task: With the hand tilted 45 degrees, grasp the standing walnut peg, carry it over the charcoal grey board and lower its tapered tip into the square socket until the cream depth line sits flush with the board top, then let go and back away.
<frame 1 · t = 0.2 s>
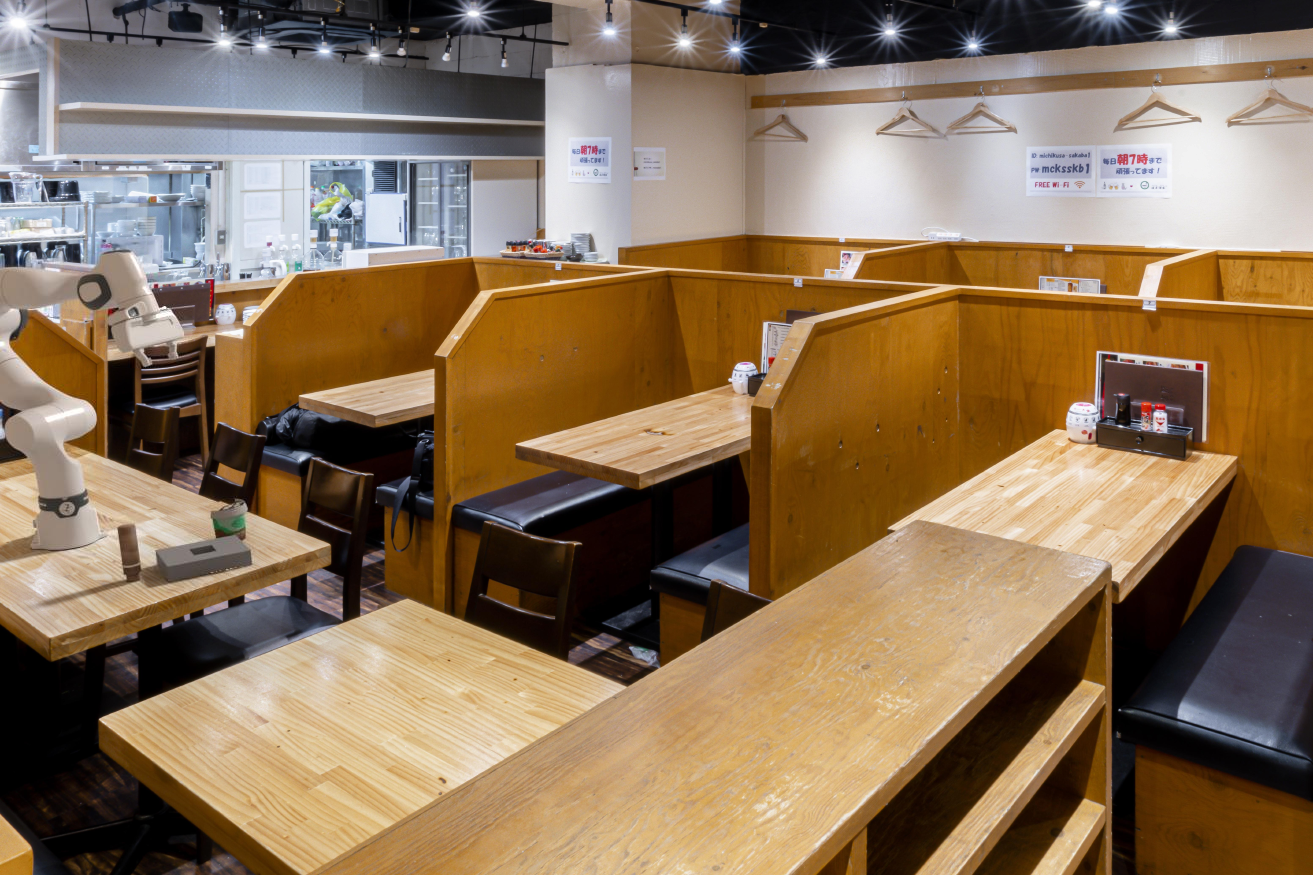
hand: (161, 362, 270), 52 cm above the table, tool tilted 20°, fingers open, 8 cm apart
peg: (133, 579, 264), on the table
food container: (237, 540, 293), on the table
board: (204, 564, 273), on the table
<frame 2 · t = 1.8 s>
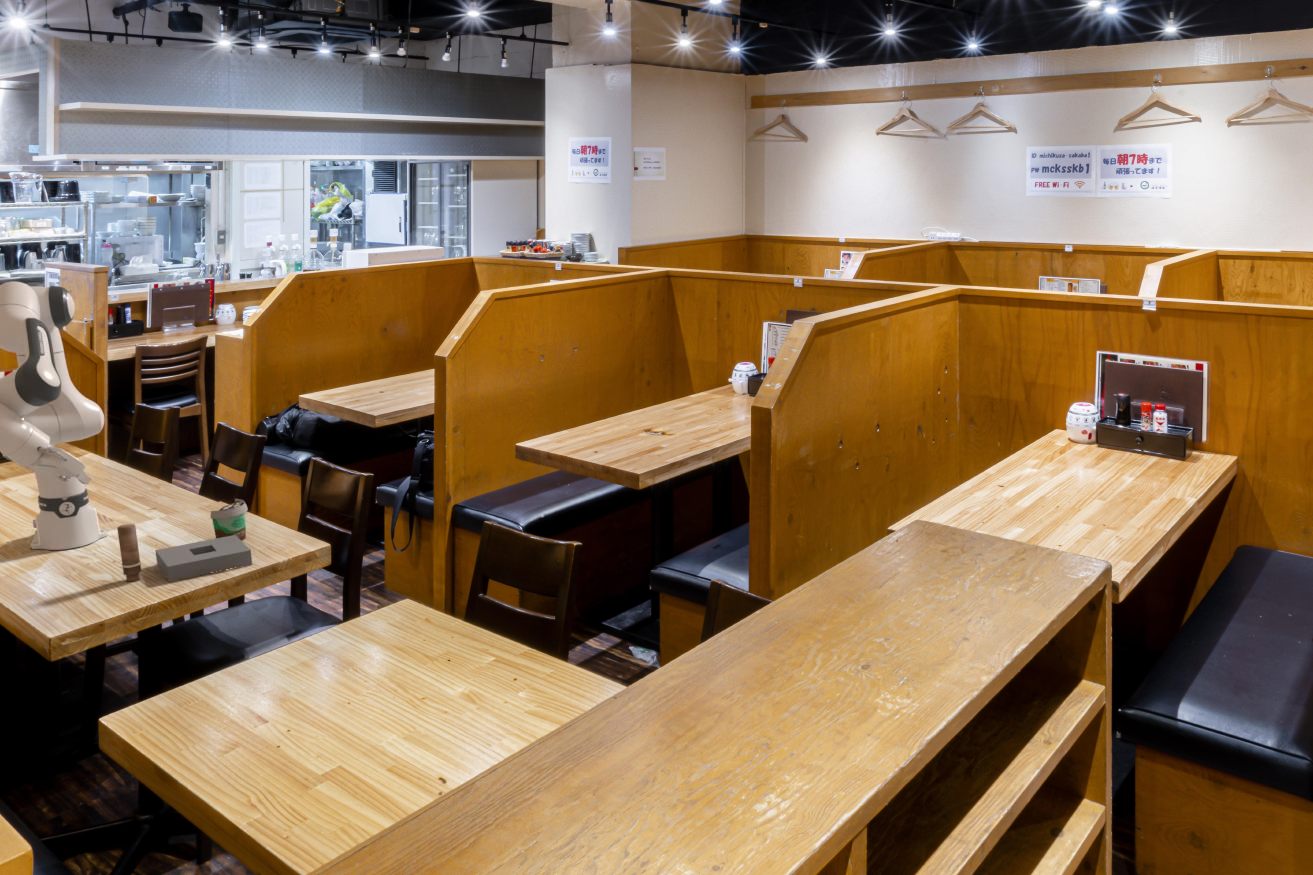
hand: (78, 480, 250), 28 cm above the table, tool tilted 45°, fingers open, 8 cm apart
nothing on the table moved.
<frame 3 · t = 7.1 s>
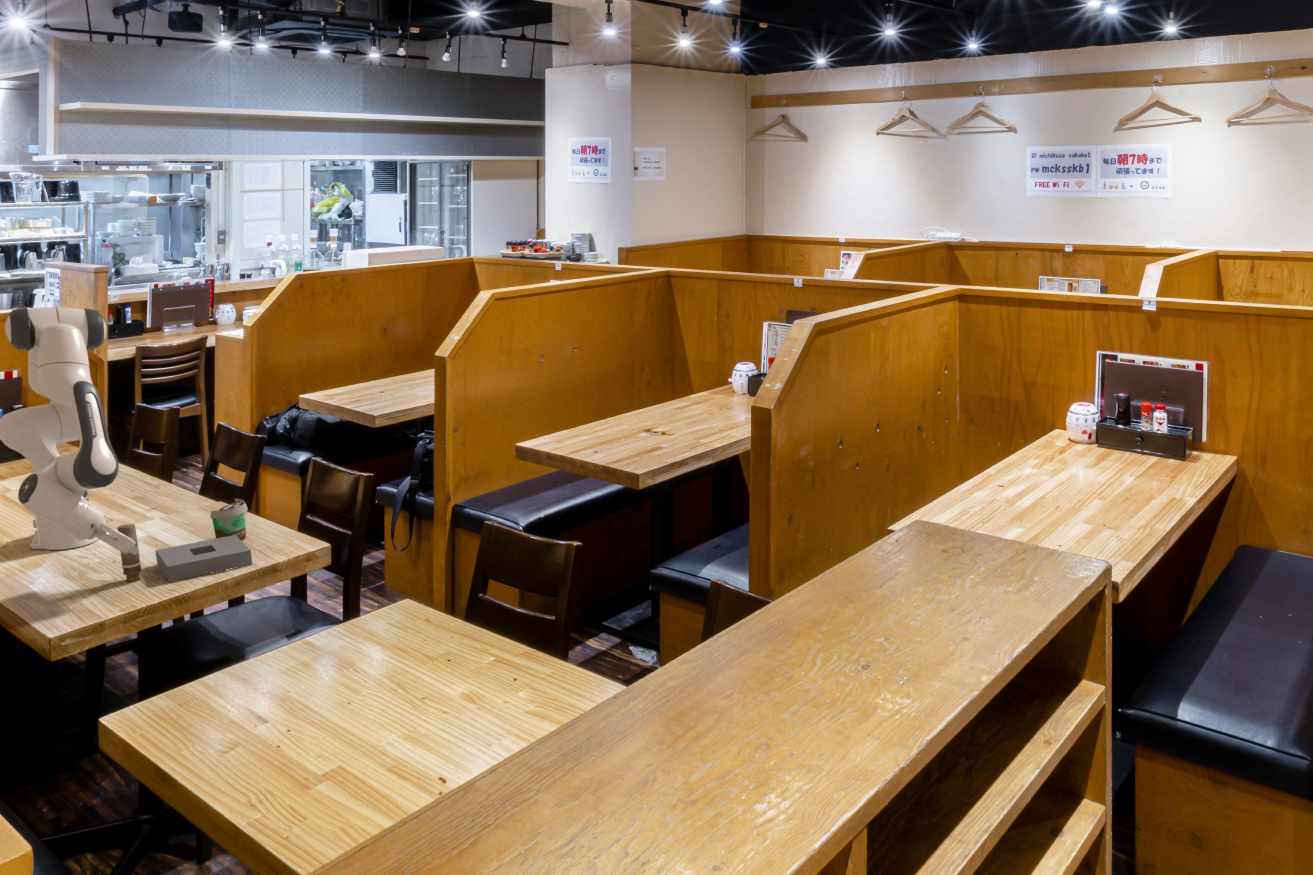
hand: (132, 549, 262), 8 cm above the table, tool tilted 45°, fingers closed on peg, 4 cm apart
peg: (133, 579, 264), on the table, touching gripper
everything else where it was.
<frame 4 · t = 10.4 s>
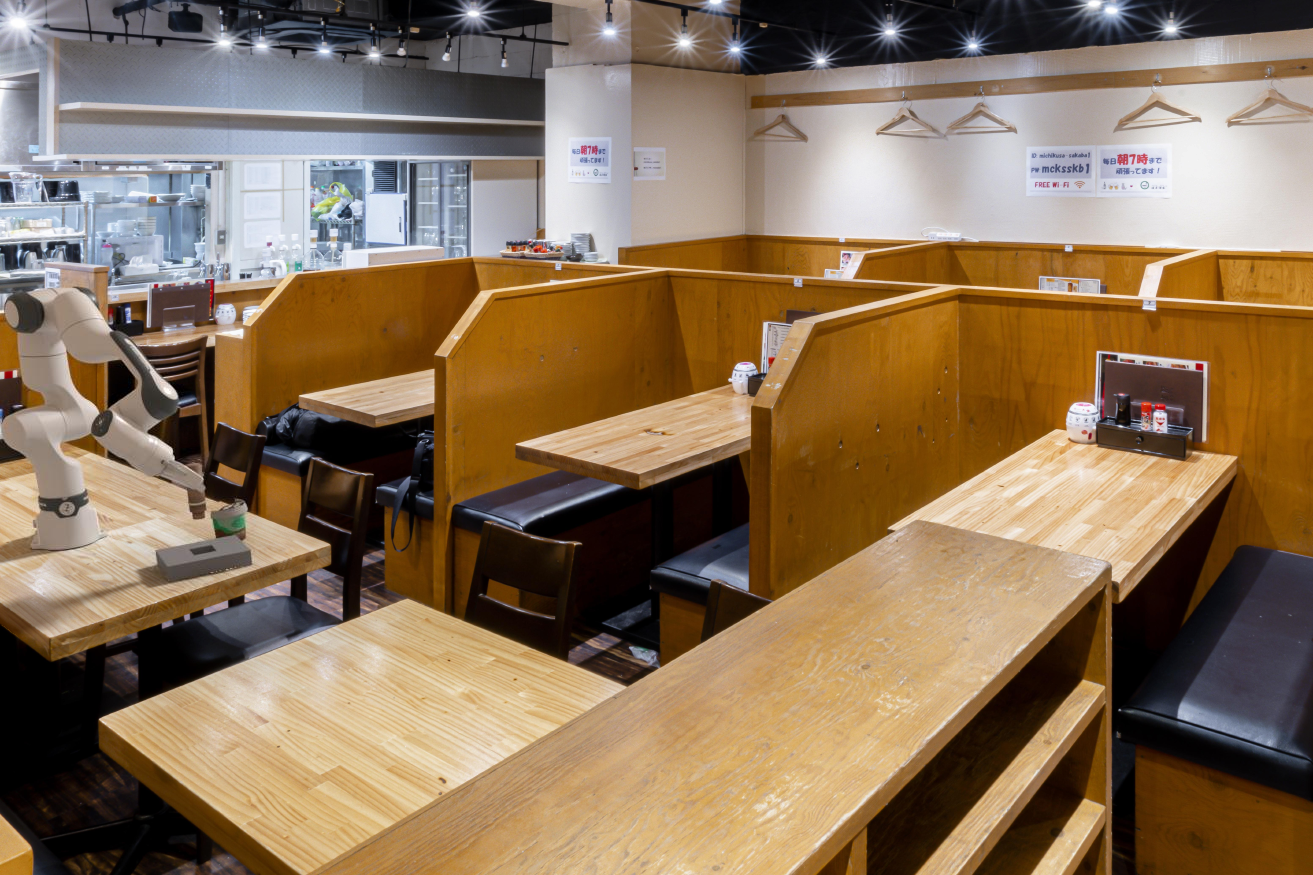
hand: (198, 487, 269), 21 cm above the table, tool tilted 45°, fingers closed on peg, 4 cm apart
peg: (199, 517, 270), point 13 cm above the table, touching gripper
everything else where it was.
when the fingers open (9 cm above the table, at t = 14.0 s): peg drops 1 cm, resting in board.
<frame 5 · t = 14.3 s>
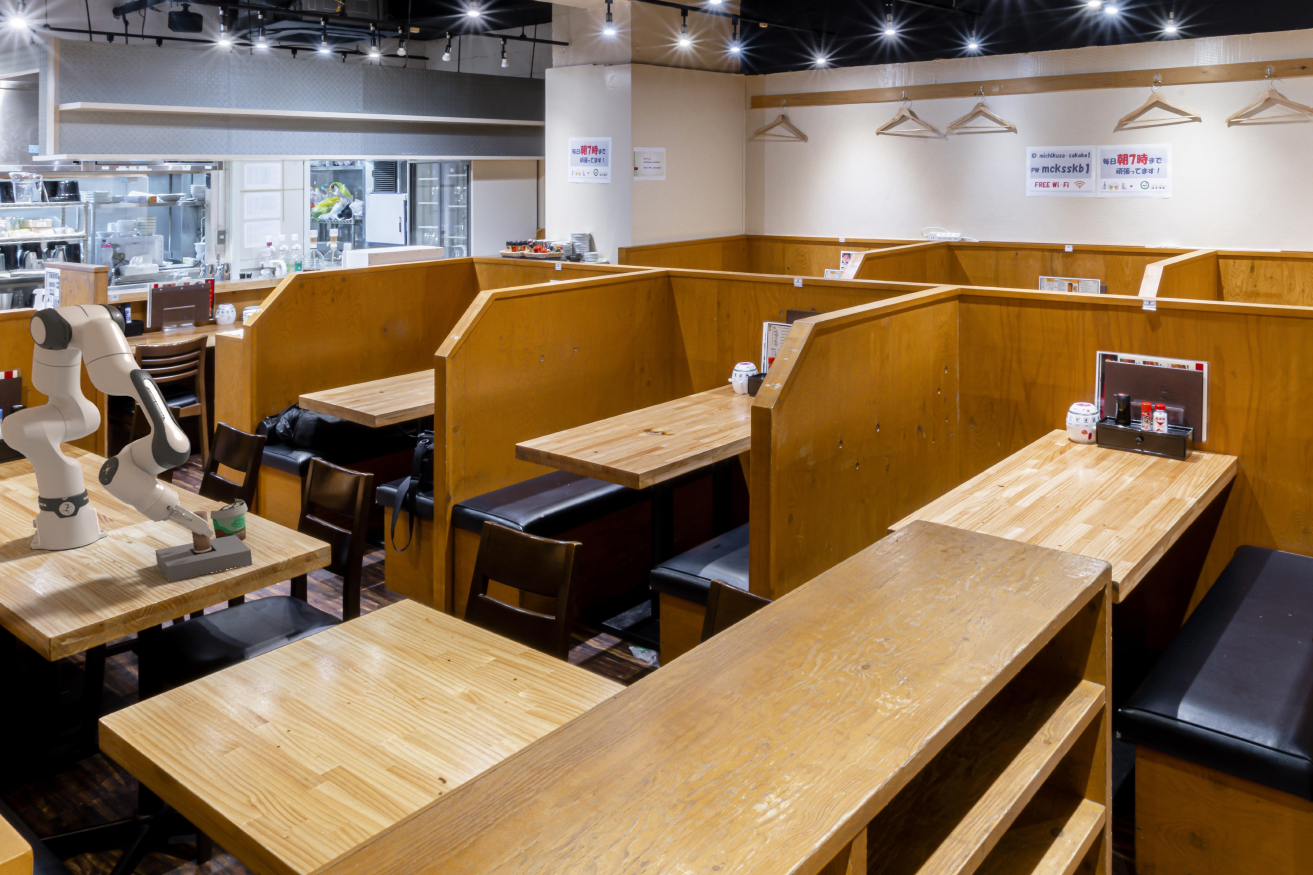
hand: (203, 530, 272), 9 cm above the table, tool tilted 45°, fingers open, 7 cm apart
peg: (204, 564, 274), resting in board
everything else where it was.
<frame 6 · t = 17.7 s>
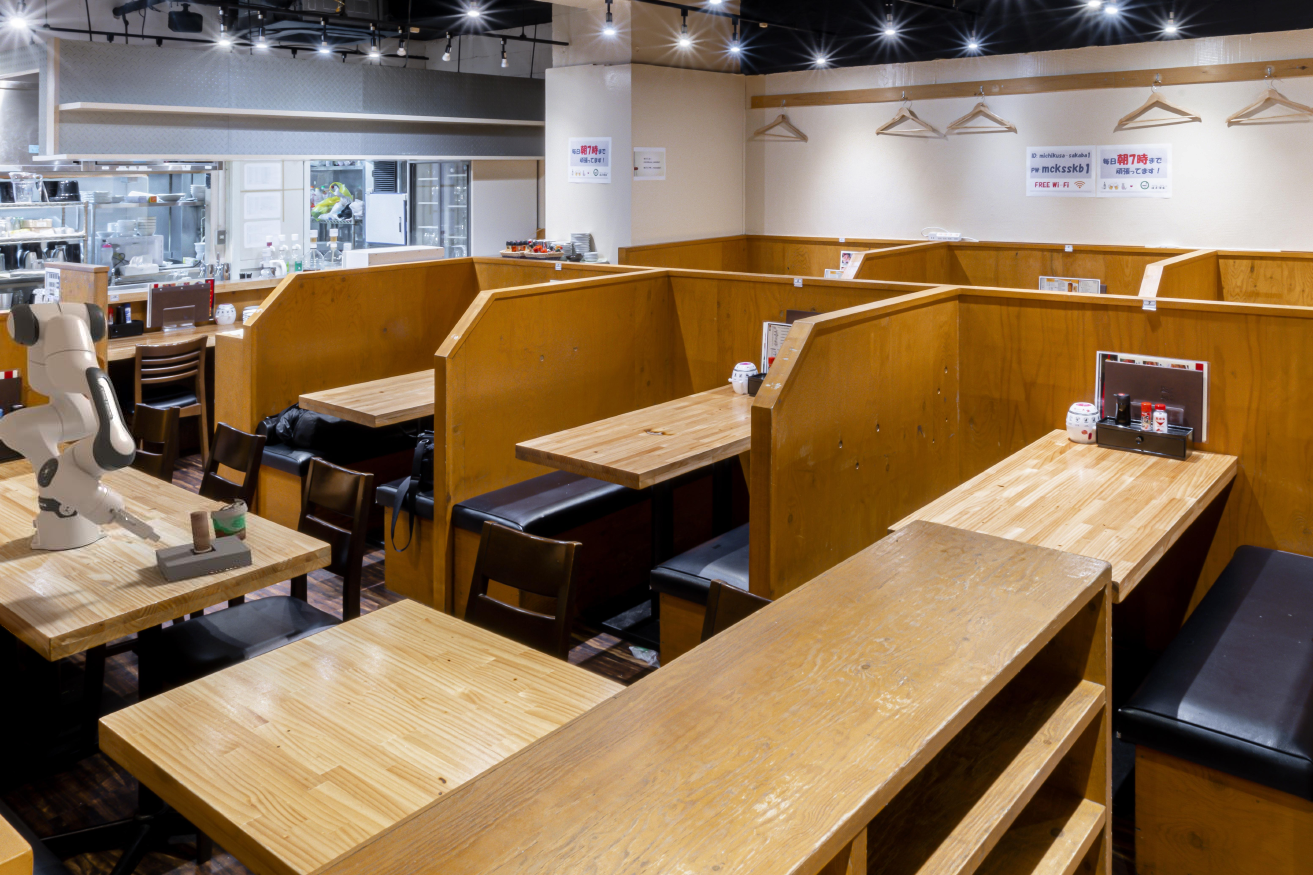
hand: (149, 534, 262), 11 cm above the table, tool tilted 45°, fingers open, 8 cm apart
nothing on the table moved.
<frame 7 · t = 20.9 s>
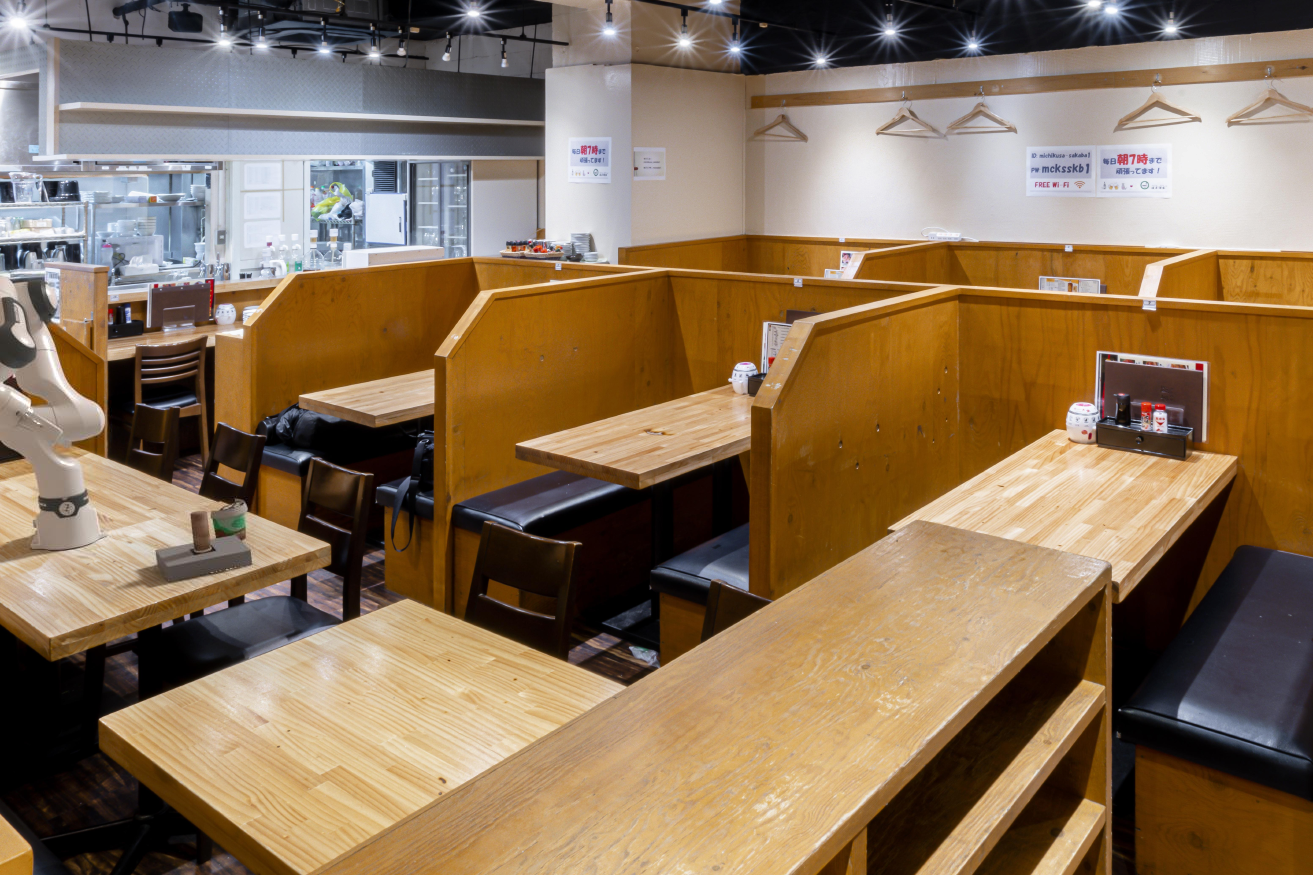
hand: (62, 442, 256), 35 cm above the table, tool tilted 45°, fingers open, 8 cm apart
nothing on the table moved.
at the end: peg 0.1 cm off-centre on the board, point 0.0 cm above the board's base; peg tilted 0°; the gripper is holding nothing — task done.
